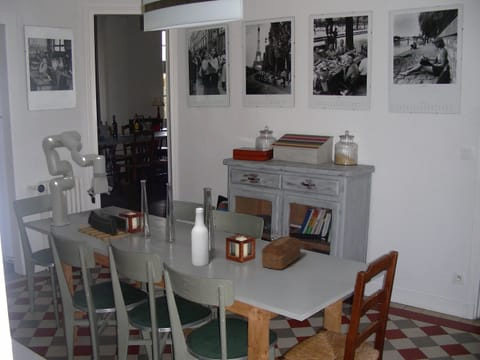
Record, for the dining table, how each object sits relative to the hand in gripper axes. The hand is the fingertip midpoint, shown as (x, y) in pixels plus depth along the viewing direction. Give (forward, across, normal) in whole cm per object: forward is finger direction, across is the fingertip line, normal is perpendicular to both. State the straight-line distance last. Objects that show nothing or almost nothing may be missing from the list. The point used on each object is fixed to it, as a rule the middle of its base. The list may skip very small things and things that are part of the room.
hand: (100, 202), depth 342 cm
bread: (+19, -39, +117) cm, 125 cm away
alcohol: (+19, -6, +89) cm, 91 cm away
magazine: (+19, 0, +1) cm, 19 cm away
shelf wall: (+19, -9, +1) cm, 21 cm away
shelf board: (+20, -1, +1) cm, 20 cm away
